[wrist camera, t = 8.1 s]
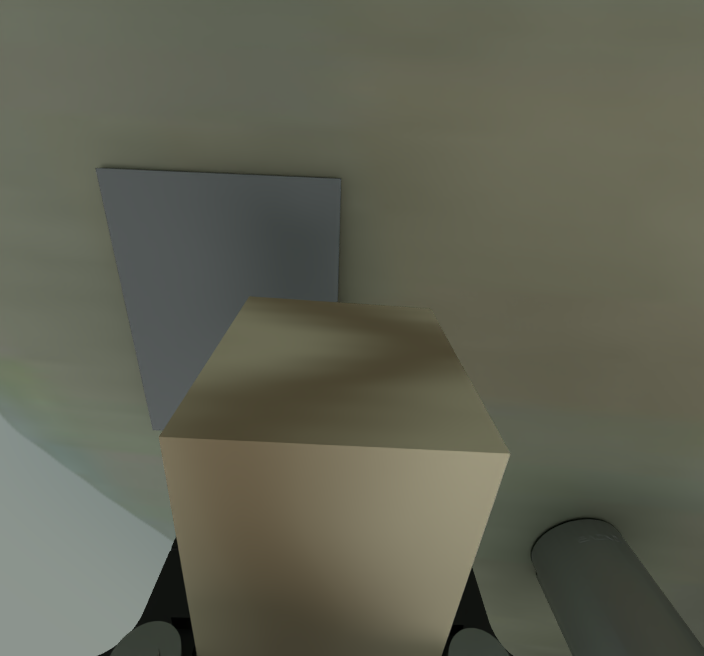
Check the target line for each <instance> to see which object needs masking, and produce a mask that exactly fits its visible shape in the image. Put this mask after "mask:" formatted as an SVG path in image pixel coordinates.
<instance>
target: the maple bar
mask: <svg viewBox="0 0 704 656" xmlns="http://www.w3.org/2000/svg"><path fill="white" fill-rule="evenodd" d="M159 440H160V446H161V452H162V457H163V463H164V469H165V475H166V480H167V486H168V492H169V498H170V503H171V509H172V515H173V521H174V526H175V532H176V538H177V544H178V549H179V555H180V561H181V566H182V572H183V578H184V584H185V589H186V595H187V601H188V607H189V612H190V618H191V624H192V630H193V635H194V641H195V647H196V652H197V656H442V653H443V650H444V647H445V644H446V641H447V638H448V635H449V633H450V630H451V627H452V624H453V621H454V618H455V615H456V612H457V609H458V606H459V603H460V600H461V597H462V594H463V591H464V589H465V586H466V583H467V580H468V577H469V574H470V571H471V568H472V565H473V562H474V559H475V556H476V553H477V550H478V547H479V545H480V542H481V539H482V536H483V533H484V530H485V527H486V524H487V521H488V518H489V515H490V512H491V509H492V506H493V503H494V501H495V498H496V495H497V492H498V489H499V486H500V483H501V480H502V477H503V474H504V471H505V468H506V465H507V462H508V459H509V456H510V452H509V450H508V448H507V447H506V445H505V443H504V441H503V439H502V437H501V436H500V434H499V432H498V430H497V428H496V427H495V425H494V423H493V421H492V419H491V418H490V416H489V414H488V412H487V410H486V408H485V407H484V405H483V403H482V401H481V399H480V398H479V396H478V394H477V392H476V390H475V388H474V387H473V385H472V383H471V381H470V379H469V378H468V376H467V374H466V372H465V370H464V368H463V367H462V365H461V363H460V361H459V359H458V358H457V356H456V354H455V352H454V350H453V349H452V347H451V345H450V343H449V341H448V339H447V338H446V336H445V334H444V332H443V330H442V329H441V327H440V325H439V323H438V321H437V319H436V318H435V316H434V314H433V312H432V310H431V309H428V308H413V307H399V306H384V305H369V304H355V303H340V302H325V301H311V300H296V299H281V298H267V297H252V296H249V298H248V299H247V301H246V302H245V304H244V305H243V307H242V308H241V310H240V312H239V313H238V315H237V316H236V318H235V319H234V321H233V322H232V324H231V326H230V327H229V329H228V330H227V332H226V333H225V335H224V336H223V338H222V340H221V341H220V343H219V344H218V346H217V347H216V349H215V350H214V352H213V354H212V355H211V357H210V358H209V360H208V361H207V363H206V364H205V366H204V368H203V369H202V371H201V372H200V374H199V375H198V377H197V378H196V380H195V382H194V383H193V385H192V386H191V388H190V389H189V391H188V392H187V394H186V396H185V397H184V399H183V400H182V402H181V403H180V405H179V406H178V408H177V410H176V411H175V413H174V414H173V416H172V417H171V419H170V420H169V422H168V424H167V425H166V427H165V428H164V430H163V431H162V433H161V434H160V436H159Z"/></svg>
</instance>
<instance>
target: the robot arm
mask: <svg viewBox="0 0 704 656" xmlns="http://www.w3.org/2000/svg"><path fill="white" fill-rule="evenodd" d="M531 559H532V562H533V565H534V567H535V570H536V572H537V579H538V581H539V583H540V586H541V588H542V590H543V592H544V594H545V597H546V599H547V601H548V603H549V605H550V608H551V610H552V612H553V614H554V616H555V618H556V621H557V623H558V625H559V627H560V629H561V632H562V634H563V636H564V638H565V640H566V643H567V645H568V647H569V649H570V651H571V654H572V656H704V648H703V646H702V645H701V644H700V642H699V641H698V640H697V638H696V637H695V635H694V634H693V633H692V631H691V630H690V629H689V627H688V626H687V624H686V623H685V622H684V620H683V619H682V618H681V616H680V615H679V613H678V612H677V611H676V609H675V608H674V607H673V605H672V604H671V603H670V601H669V600H668V598H667V597H666V596H665V594H664V593H663V592H662V590H661V589H660V587H659V586H658V585H657V583H656V582H655V581H654V579H653V578H652V576H651V575H650V574H649V572H648V571H647V570H646V568H645V567H644V565H643V564H642V563H641V561H640V560H639V559H638V557H637V556H636V554H635V553H634V552H633V550H632V549H631V548H630V546H629V545H628V544H627V542H626V541H625V539H624V538H623V537H622V535H621V534H620V533H619V531H618V530H617V529H616V528H615V527H614V526H612V525H611V524H609V523H607V522H604V521H600V520H592V519H584V520H576V521H571V522H567V523H564V524H561V525H559V526H557V527H555V528H553V529H551V530H550V531H548V532H547V533H545V534H544V535H543V536H542V537H541V538H540V539H539V540H538V541H537V543H536V544H535V546H534V547H533V550H532V557H531ZM98 656H197V652H196V647H195V641H194V635H193V630H192V624H191V618H190V612H189V607H188V601H187V595H186V589H185V584H184V578H183V572H182V566H181V561H180V555H179V549H178V544H177V538H175V540H174V543H173V545H172V549H171V551H170V552H169V554H168V557H167V559H166V561H165V564H164V566H163V568H162V571H161V573H160V575H159V577H158V580H157V582H156V584H155V587H154V589H153V592H152V594H151V596H150V598H149V601H148V603H147V605H146V608H145V610H144V612H143V614H142V616H141V618H140V620H139V621H138V623H137V625H136V626H135V627H134V629H133V630H132V631H131V632H129V633H128V634H127V635H126V636H125V637H124V638H123V639H122V640H121V641H120V642H119V643H118V644H117V645H116V646H115V647H113V648H112V649H110V650H108V651H107V652H105V653H103V654H101V655H98ZM442 656H513V655H511V654H510V653H509V652H508V651H507V650H506V649H505V648H504V647H503V646H502V644H501V643H500V642H499V640H498V639H497V637H496V636H495V634H494V632H493V630H492V628H491V626H490V623H489V620H488V617H487V614H486V610H485V607H484V604H483V601H482V598H481V594H480V591H479V588H478V585H477V581H476V578H475V575H474V572H473V568H471V571H470V574H469V577H468V580H467V583H466V586H465V589H464V591H463V594H462V597H461V600H460V603H459V606H458V609H457V612H456V615H455V618H454V621H453V624H452V627H451V630H450V633H449V635H448V638H447V641H446V644H445V647H444V650H443V653H442Z"/></svg>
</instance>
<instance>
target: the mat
mask: <svg viewBox="0 0 704 656" xmlns="http://www.w3.org/2000/svg"><path fill="white" fill-rule="evenodd" d="M96 172H97V177H98V182H99V186H100V191H101V195H102V200H103V204H104V209H105V214H106V218H107V223H108V227H109V232H110V236H111V241H112V246H113V250H114V255H115V259H116V264H117V268H118V273H119V278H120V282H121V287H122V291H123V296H124V300H125V305H126V310H127V314H128V319H129V323H130V328H131V332H132V337H133V341H134V346H135V351H136V355H137V360H138V364H139V369H140V373H141V378H142V383H143V387H144V392H145V396H146V401H147V405H148V410H149V415H150V419H151V424H152V428H153V430H164V428H165V427H166V425H167V424H168V422H169V420H170V419H171V417H172V416H173V414H174V413H175V411H176V410H177V408H178V406H179V405H180V403H181V402H182V400H183V399H184V397H185V396H186V394H187V392H188V391H189V389H190V388H191V386H192V385H193V383H194V382H195V380H196V378H197V377H198V375H199V374H200V372H201V371H202V369H203V368H204V366H205V364H206V363H207V361H208V360H209V358H210V357H211V355H212V354H213V352H214V350H215V349H216V347H217V346H218V344H219V343H220V341H221V340H222V338H223V336H224V335H225V333H226V332H227V330H228V329H229V327H230V326H231V324H232V322H233V321H234V319H235V318H236V316H237V315H238V313H239V312H240V310H241V308H242V307H243V305H244V304H245V302H246V301H247V299H248V298H249V296H252V297H267V298H281V299H296V300H311V301H325V302H338V272H339V236H340V200H341V179H340V178H318V177H295V176H272V175H249V174H227V173H204V172H181V171H158V170H136V169H113V168H96Z"/></svg>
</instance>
